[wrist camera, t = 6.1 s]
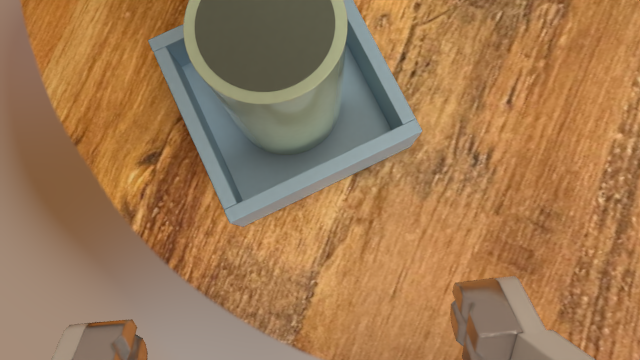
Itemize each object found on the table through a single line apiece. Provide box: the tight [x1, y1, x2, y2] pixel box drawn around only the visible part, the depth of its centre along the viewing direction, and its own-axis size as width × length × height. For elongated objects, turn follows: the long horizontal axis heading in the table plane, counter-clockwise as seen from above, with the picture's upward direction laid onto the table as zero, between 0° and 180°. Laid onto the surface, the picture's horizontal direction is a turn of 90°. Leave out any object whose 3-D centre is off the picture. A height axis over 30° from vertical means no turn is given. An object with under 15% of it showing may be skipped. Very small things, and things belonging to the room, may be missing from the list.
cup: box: [183, 0, 347, 155], centre depth 24 cm, size 7×7×10 cm
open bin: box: [148, 0, 422, 227], centre depth 28 cm, size 12×12×4 cm
